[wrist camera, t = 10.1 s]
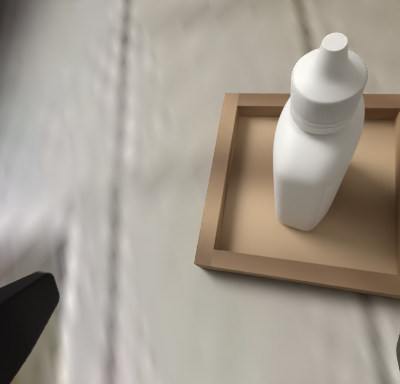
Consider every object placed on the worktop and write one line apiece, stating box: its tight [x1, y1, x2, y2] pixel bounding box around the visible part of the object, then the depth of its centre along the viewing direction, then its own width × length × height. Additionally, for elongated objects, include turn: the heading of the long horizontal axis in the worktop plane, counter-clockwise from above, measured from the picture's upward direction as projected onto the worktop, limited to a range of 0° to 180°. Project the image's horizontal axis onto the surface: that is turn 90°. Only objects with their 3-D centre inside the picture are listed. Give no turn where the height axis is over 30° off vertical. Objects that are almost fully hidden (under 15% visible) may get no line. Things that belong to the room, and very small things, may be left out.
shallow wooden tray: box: [194, 93, 400, 299], centre depth 20 cm, size 12×12×2 cm
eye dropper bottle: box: [273, 33, 368, 231], centre depth 15 cm, size 4×6×12 cm
